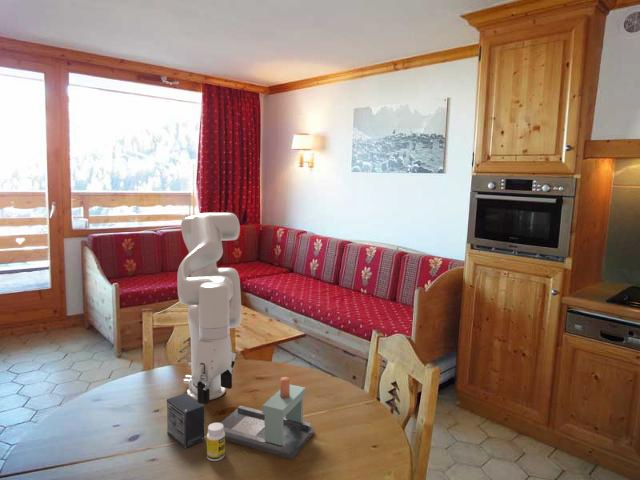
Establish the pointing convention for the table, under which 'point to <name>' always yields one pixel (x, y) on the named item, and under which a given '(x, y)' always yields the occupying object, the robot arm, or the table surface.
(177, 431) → the small box
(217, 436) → the supplement bottle
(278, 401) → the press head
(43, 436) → the table surface
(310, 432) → the base
